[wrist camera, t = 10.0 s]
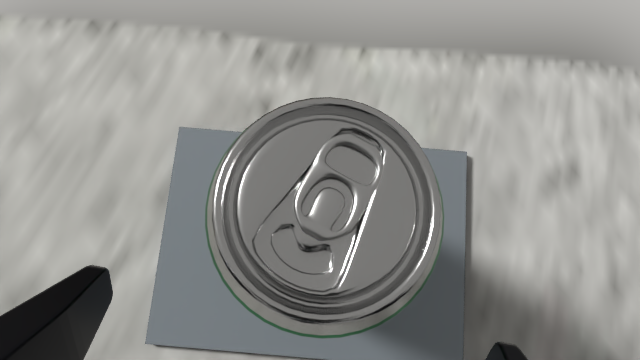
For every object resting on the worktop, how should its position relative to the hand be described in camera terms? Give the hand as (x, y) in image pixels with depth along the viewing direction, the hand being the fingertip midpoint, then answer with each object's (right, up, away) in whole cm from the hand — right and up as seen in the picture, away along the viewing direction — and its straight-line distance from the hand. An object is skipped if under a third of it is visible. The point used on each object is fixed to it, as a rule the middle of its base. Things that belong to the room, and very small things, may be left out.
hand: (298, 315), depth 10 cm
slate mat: (0, 0, +10) cm, 10 cm away
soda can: (0, 0, +10) cm, 10 cm away
